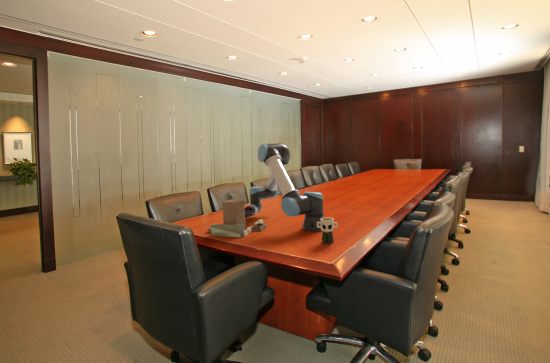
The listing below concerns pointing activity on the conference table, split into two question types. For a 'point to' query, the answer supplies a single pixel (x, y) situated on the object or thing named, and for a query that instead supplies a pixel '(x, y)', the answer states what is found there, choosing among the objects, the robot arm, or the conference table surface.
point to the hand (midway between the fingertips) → (236, 218)
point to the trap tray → (235, 229)
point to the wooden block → (234, 212)
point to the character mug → (327, 229)
